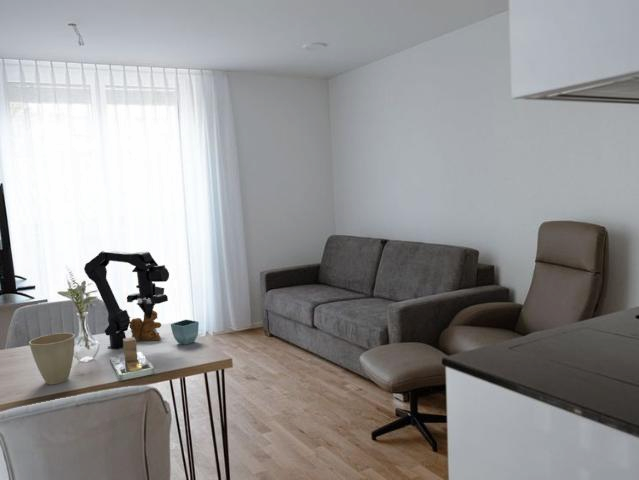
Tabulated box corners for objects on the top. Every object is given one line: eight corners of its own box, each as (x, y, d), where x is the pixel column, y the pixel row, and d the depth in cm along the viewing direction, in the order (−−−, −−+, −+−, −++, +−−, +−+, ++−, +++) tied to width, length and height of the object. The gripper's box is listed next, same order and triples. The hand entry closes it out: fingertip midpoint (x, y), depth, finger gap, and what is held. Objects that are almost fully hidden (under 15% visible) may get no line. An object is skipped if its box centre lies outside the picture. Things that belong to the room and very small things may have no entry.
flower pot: (184, 347, 237) (183, 326, 236) (171, 344, 242) (169, 324, 241) (200, 341, 244) (199, 321, 243) (187, 338, 249) (186, 319, 248)
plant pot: (85, 372, 211) (81, 331, 209) (69, 387, 196) (64, 343, 194) (45, 375, 210) (40, 333, 209) (26, 389, 196) (21, 345, 194)
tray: (116, 376, 205) (116, 368, 204) (150, 369, 210) (149, 361, 210) (120, 383, 197) (119, 375, 197) (154, 376, 202) (154, 368, 202)
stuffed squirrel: (162, 340, 249) (159, 311, 248) (129, 344, 246) (126, 314, 245) (162, 334, 259) (160, 306, 257) (131, 338, 256) (128, 310, 254)
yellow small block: (128, 373, 204) (128, 365, 204) (140, 371, 206) (139, 363, 206) (131, 377, 200) (130, 369, 200) (142, 375, 202) (141, 367, 201)
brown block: (125, 367, 211) (122, 338, 210) (136, 364, 213) (133, 336, 212) (128, 373, 204) (126, 343, 203) (140, 370, 206) (137, 341, 205)
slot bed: (110, 362, 221) (109, 357, 221) (141, 356, 226) (141, 351, 226) (116, 376, 205) (116, 370, 204) (150, 369, 210) (149, 363, 210)
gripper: (175, 278, 236) (179, 314, 238) (144, 278, 245) (148, 312, 247) (155, 283, 227) (159, 321, 228) (124, 282, 236) (128, 319, 238)
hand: (149, 318), depth 235 cm, fingers closed
